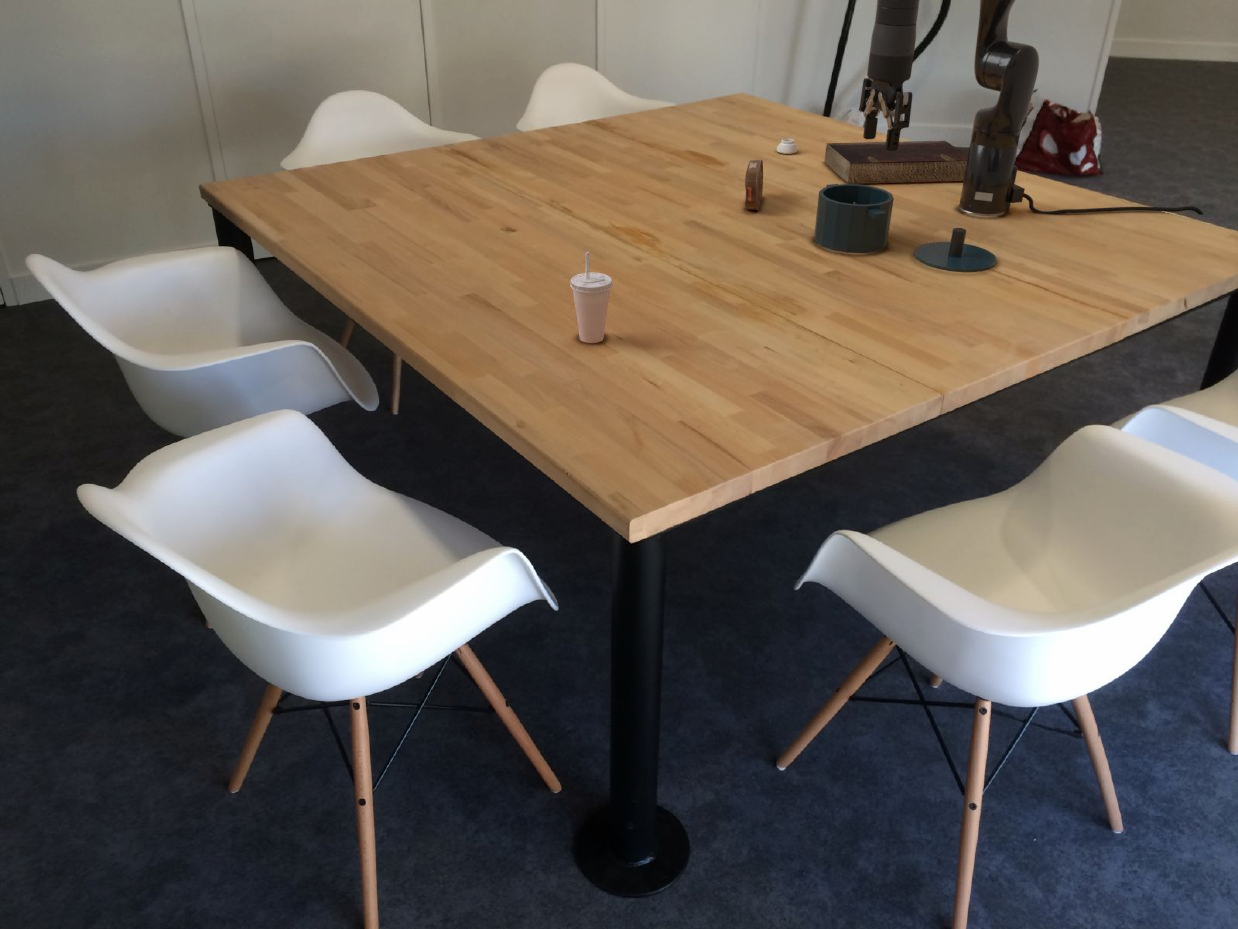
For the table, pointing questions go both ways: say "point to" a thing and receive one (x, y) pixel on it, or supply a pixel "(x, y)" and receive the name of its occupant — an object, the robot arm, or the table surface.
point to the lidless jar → (787, 146)
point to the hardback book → (896, 162)
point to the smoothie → (591, 303)
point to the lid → (955, 254)
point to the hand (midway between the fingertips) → (879, 144)
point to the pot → (853, 218)
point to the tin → (754, 184)
